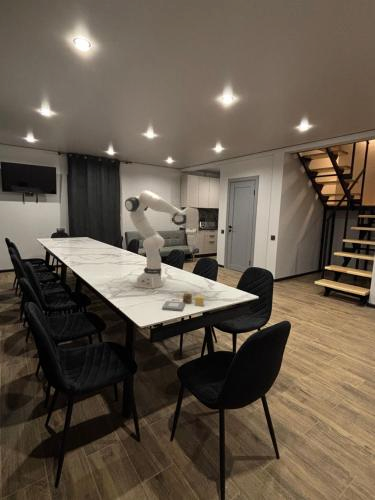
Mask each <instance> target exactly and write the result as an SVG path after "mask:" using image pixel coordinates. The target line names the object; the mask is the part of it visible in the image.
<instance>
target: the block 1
mask: <svg viewBox="0 0 375 500" xmlns="http://www.w3.org/2000/svg"><path fill="white" fill-rule="evenodd" d="M192 296H193V294H192V293H189V292H188V293H187V292H186V293H185V292H184V293H183V295H182V299H183V302H185V304H192V300H193V298H192Z"/></svg>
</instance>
